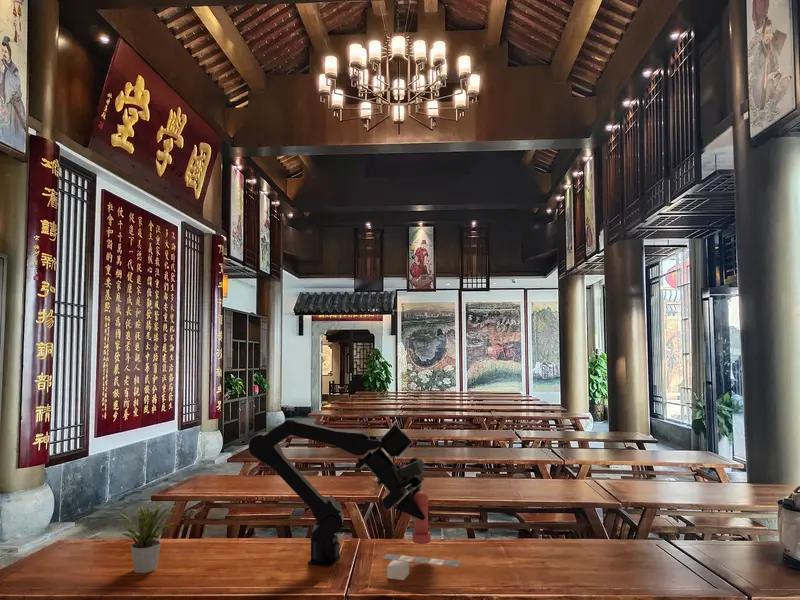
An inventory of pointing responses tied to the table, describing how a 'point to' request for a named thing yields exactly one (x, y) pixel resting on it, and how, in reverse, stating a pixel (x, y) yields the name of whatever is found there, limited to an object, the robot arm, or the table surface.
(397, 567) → the white cube
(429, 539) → the pawn
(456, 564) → the track board
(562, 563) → the table surface
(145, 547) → the house plant
